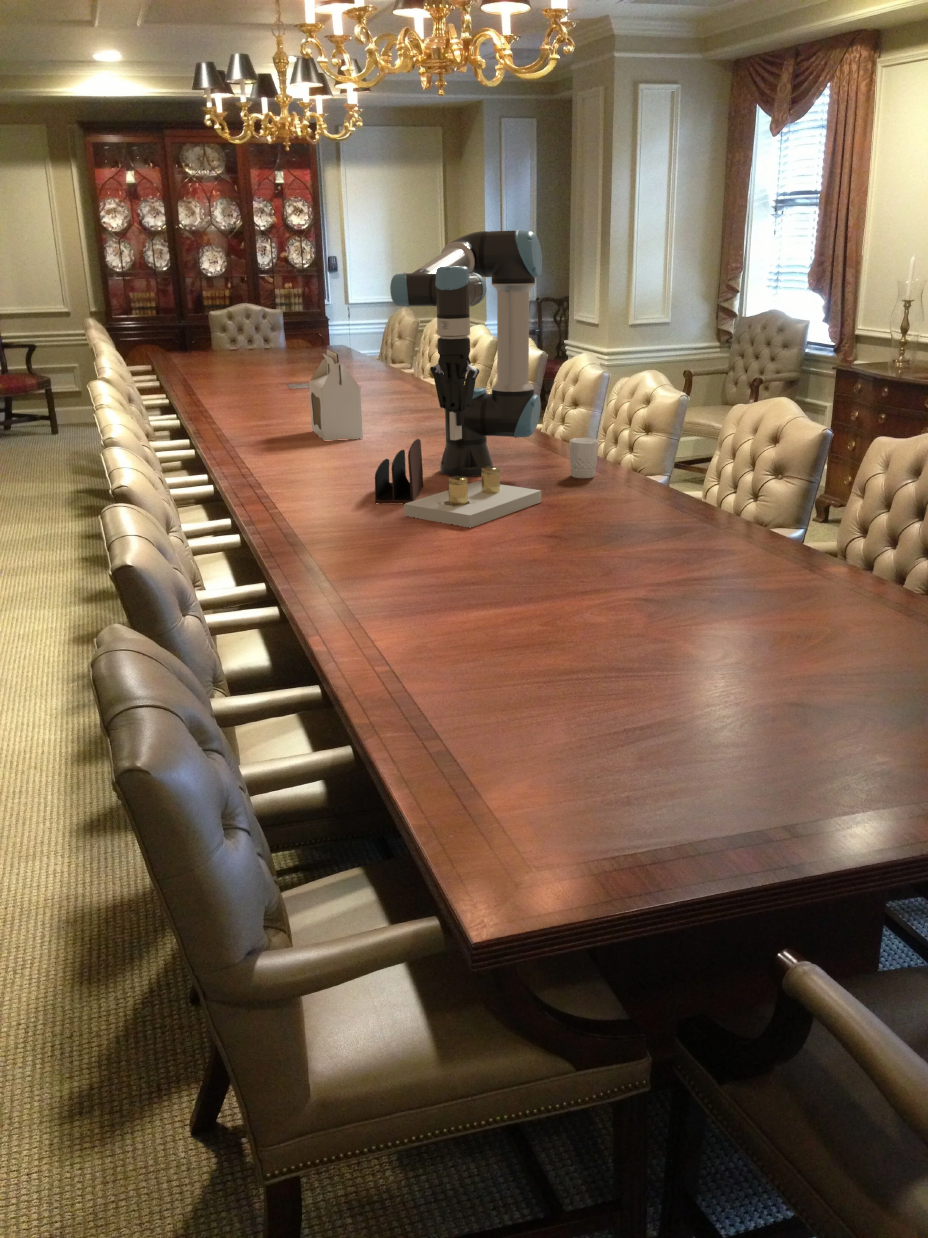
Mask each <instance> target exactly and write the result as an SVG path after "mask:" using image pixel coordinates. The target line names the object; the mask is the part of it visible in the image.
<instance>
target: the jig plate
mask: <svg viewBox="0 0 928 1238" xmlns="http://www.w3.org/2000/svg"><path fill="white" fill-rule="evenodd" d="M467 485H468V504H467V505H464V506H450V505H449V489H448V490H444V491H442V492H438V493H433V494H432V495H429V496H424V497H421V498H419V499H415V501H412V502H409V503H405V504H403V509H404V511H403V513H404V517H407V516H409V518H413V517H415V518H414V519H418V518H419V519H420V520H425V521H429V522H436V523H440V522H441V523H442V524H446V525H451V524H453V525H452V526H457V525H458V527H464V528H468V527H469V529H471V527H472V528H474V527H477V526H479V525H482V524H486V523H488V522H490V521H492V520H497V519H499V518H501V517H504V516H506V515H510V514H513V513H515V512H518V511H520V510H524V509H526V508H529V507H532V506H534V505H537V504H539V503H542V490H540V489H535V488H534V489H533V488H527V487H520V486H515V485H507V484H501V483H500V492H499V493H494V494H486V493H482V481H480V480H477V481H473V482H470V483H467ZM441 523H440V524H441Z"/></svg>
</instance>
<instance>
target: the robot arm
mask: <svg viewBox="0 0 928 1238" xmlns="http://www.w3.org/2000/svg"><path fill="white" fill-rule="evenodd" d="M542 267H543V253H542V248H541V244H540V241H539V238H538V237H537V235H536V233H534V232H533V231H531V230H519V229H516V230H490V231H489V230H488V231H485V230H482V231H481V230H480V231H475V232H471V233H468V234H466V235H463V236H460V237H457V238H456V239H454V240H452V241H451V242H449V243H448V244H446V245H445V246H444V247H443V248H442V250H441V252H440V253H439V255H437V256H435V257H434V258H433V259H431V260H429V261H428V262H426V263H425V264H423V265H421V267H419V268H418V269H416V270H414V271H413V272H411V273H407V272H403V273H396V274H394V275H393V276H392V278H391V281H390V286H389V287H390V288H389V290H390V297H391V298H390V299H391V300H392V302H393V304H394V305H395V306H397V307H407V308H409V307H436V329H437V331H436V333H437V336H439V337H438V339H437V354H438V357H439V358H438V361H437V364H435V365H433V366H430V367H429V371H430V372H431V374H432V376H433V380H434V381H433V382H434V384H435V385H434V386H435V389H436V395H437V398H438V403H439V407H440V408H441V409H444V418H445V419H444V421H445V424H444V425H445V428H444V429H445V447H444V451H443V454H442V456H441V457H442V458H441V461H440V466H439V469H440V470H439V471H440V473H441V474H443V475H445V476H450V477H456V476H462V477H478V476H481V468H482V467H486V466H494V463H493V460H492V457H491V454H490V450H489V447H488V443H487V441H488V440H487V439H488V438H487V437H504V438H505V437H507V438H516V439H517V438H529V437H532V435H533V434H534V433H535V431H536V429H537V426H538V424H539V421H540V420H539V419H540V414H541V409H542V408H541V407H542V402H541V396H540V395H538V394H535V388H534V386H533V385H532V384H531V382H530V381H529V369H530V368H529V366H530V364H529V363H530V361H529V357H530V353H529V352H530V351H529V350H530V346H529V344H530V340H529V339H530V291H531V290H532V288H533V287H534V286H535V285H536V279H537V278H539V277H540V276H541V274H542V272H543V268H542ZM484 278H491V286H492V287H493V288H495V289H494V290H496V294H497V295H496V296H497V297H496V298H497V305H496V307H497V308H496V309H497V314H496V316H497V317H496V319H497V321H496V324H497V325H496V327H497V329H496V330H497V338H496V339H497V341H496V343H497V345H496V346H497V348H496V349H497V350H496V352H497V359H496V360H497V361H496V362H497V365H496V367H497V376H496V377H497V381H496V383H495V384H494V385H493V386H492V387H491V393H487V392H488V391H487V388H485V387H475V386H476V381H477V378H478V377H479V374H480V369H479V368H476V367H474V366H472V365H471V360H470V353H471V338H470V337H468V336H470V335H471V321H470V320H471V317H470V307H475V306H476V305H478V304H480V303H481V302H482V301H483V300H484V298H485V297H486V295H487V284H486V281H485V279H484Z"/></svg>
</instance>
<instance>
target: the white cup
mask: <svg viewBox="0 0 928 1238" xmlns="http://www.w3.org/2000/svg"><path fill="white" fill-rule="evenodd" d="M598 450H599V439H597V438H591V437H577V438H570V440H569V461H570V476H571V477H572V478H576V479H591V478H595V477H596V472H597V471H596V470H597V464H598V455H599V453H598Z"/></svg>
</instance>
